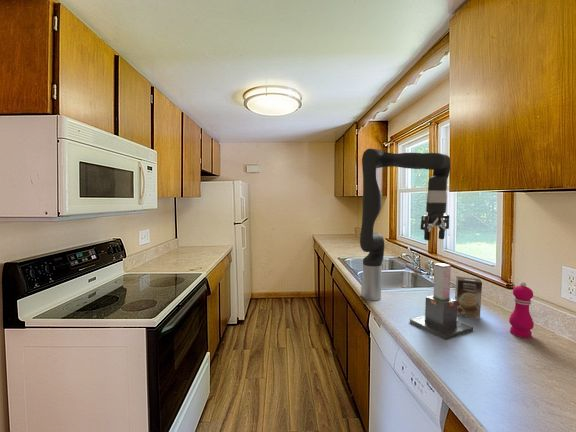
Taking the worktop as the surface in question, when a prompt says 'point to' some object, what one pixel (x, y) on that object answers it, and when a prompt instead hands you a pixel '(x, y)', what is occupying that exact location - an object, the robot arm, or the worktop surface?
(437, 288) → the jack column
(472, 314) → the coffee box
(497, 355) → the worktop surface
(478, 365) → the worktop surface
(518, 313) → the pepper mill
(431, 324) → the grey square socket base
